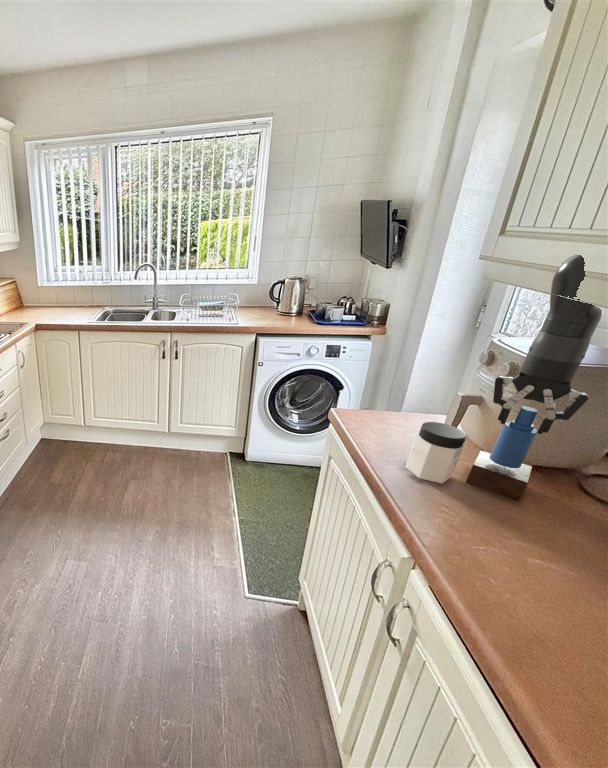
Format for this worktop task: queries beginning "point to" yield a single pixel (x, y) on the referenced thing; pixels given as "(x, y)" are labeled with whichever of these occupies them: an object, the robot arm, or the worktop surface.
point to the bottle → (515, 439)
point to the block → (499, 477)
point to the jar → (436, 451)
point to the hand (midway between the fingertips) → (520, 427)
